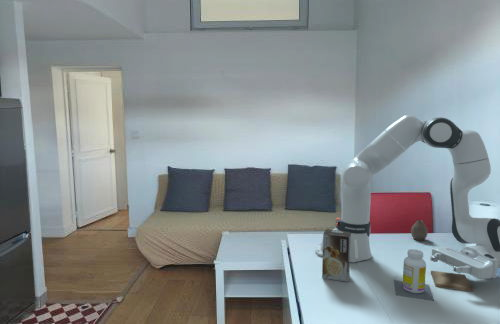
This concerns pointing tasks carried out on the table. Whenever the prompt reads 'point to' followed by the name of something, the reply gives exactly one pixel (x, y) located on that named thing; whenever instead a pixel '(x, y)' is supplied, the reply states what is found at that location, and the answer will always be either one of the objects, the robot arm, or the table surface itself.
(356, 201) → the robot arm
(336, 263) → the coffee box
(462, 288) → the walnut board
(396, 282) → the slate mat
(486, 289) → the table surface
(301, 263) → the table surface
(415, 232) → the vase
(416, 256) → the supplement bottle
